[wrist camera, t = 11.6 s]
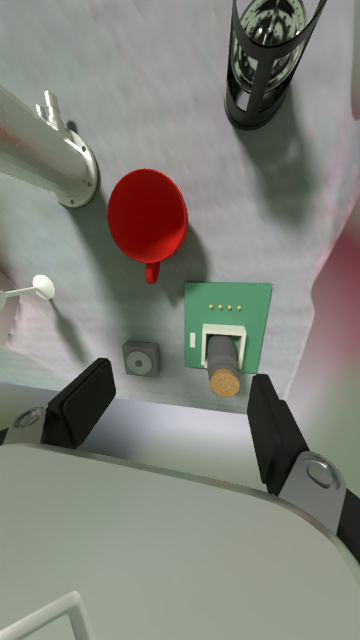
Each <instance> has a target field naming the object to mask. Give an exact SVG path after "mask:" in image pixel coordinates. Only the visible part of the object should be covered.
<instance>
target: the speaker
mask: <svg viewBox="0 0 360 640" xmlns="http://www.w3.org/2000/svg"><path fill="white" fill-rule="evenodd" d="M122 349H123V356H124V362H125V369H126V374H130V375H138V376H147V377H156V378H157V376H158V374H159V372H160V363H159V347H158V343H148V342H135V341H127V342H126V343H125V344H124V345H123V346H122Z"/></svg>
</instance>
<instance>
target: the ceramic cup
mask: <svg viewBox="0 0 360 640" xmlns="http://www.w3.org/2000/svg"><path fill="white" fill-rule="evenodd" d="M108 223H109V228H110V231H111V234H112V237H113V239H114V241H115V243H116V244H117V245H118V247H119V248H120V250H121V251H123V252H124V253H125V254H126V255H127V256H128V257H130V258H132V259H133V260H136V261H138V262H143V263H146V269H145V279H146V282H147V283H149V284H154V283H155V282H156V281H157V278H158V274H159V268H160V261H163V260H165V259H167V258H169V257H171V256H172V255H173V254H175V253H176V252H177V251H178V250H179V248H180V247H181V246H182V244H183V242H184V240H185V237H186V234H187V229H188V214H187V209H186V205H185V202H184V199H183V197H182V194H181V193H180V191H179V189H178V188H177V186H176V185H175V184H174V183H173V181H172V180H171V179H170V178H169V177H167V176H166V175H164V174H163V173H161V172H158V171H156V170H153V169H138V170H135V171H132V172H130V173H128V174H127V175H125V176H124V177H123V178H122V179H121V180H120V181H119V182H118V183H117V184H116V186H115V188H114V190H113V191H112V194H111V197H110V200H109V205H108Z"/></svg>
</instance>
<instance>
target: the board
mask: <svg viewBox="0 0 360 640" xmlns="http://www.w3.org/2000/svg"><path fill="white" fill-rule="evenodd" d="M271 290H272V284H271V283H222V282H185V366H186V367H196V368H206V369H207V357H208V341H209V338H210V336H211V335H212V334H223V335H231V337H232V339H233V342H234V346H235V350H236V354H237V358H238V363H239V372H246V373H256V372H257V367H258V361H259V356H260V350H261V345H262V339H263V334H264V328H265V323H266V317H267V312H268V306H269V301H270V295H271Z"/></svg>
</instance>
